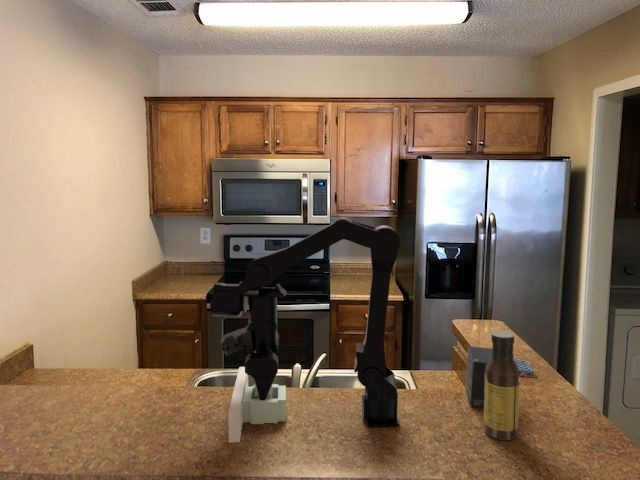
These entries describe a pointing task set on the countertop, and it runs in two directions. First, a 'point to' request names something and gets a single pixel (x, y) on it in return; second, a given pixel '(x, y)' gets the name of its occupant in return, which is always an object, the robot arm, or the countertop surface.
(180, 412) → the countertop surface
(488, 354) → the small box
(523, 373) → the woven mat
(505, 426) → the sauce bottle
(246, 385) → the backstop wall
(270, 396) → the grey square block
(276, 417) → the socket block
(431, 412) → the countertop surface
